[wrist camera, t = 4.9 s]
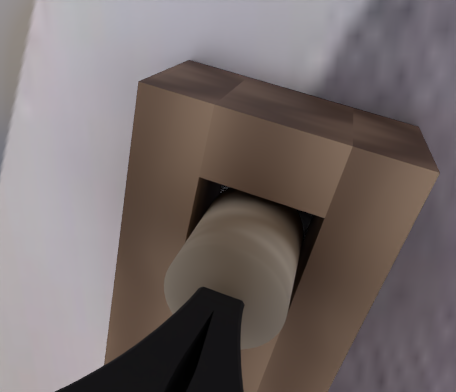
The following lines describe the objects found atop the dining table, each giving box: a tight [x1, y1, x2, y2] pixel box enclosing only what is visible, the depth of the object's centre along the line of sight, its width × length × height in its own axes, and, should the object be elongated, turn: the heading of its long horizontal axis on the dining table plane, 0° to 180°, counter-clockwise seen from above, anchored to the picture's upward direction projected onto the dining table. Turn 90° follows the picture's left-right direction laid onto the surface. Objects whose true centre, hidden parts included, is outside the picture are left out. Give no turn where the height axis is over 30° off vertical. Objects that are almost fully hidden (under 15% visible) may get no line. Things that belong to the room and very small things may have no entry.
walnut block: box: [104, 60, 440, 392], centre depth 21 cm, size 10×20×5 cm, turn 168°
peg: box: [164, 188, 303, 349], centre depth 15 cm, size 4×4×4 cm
